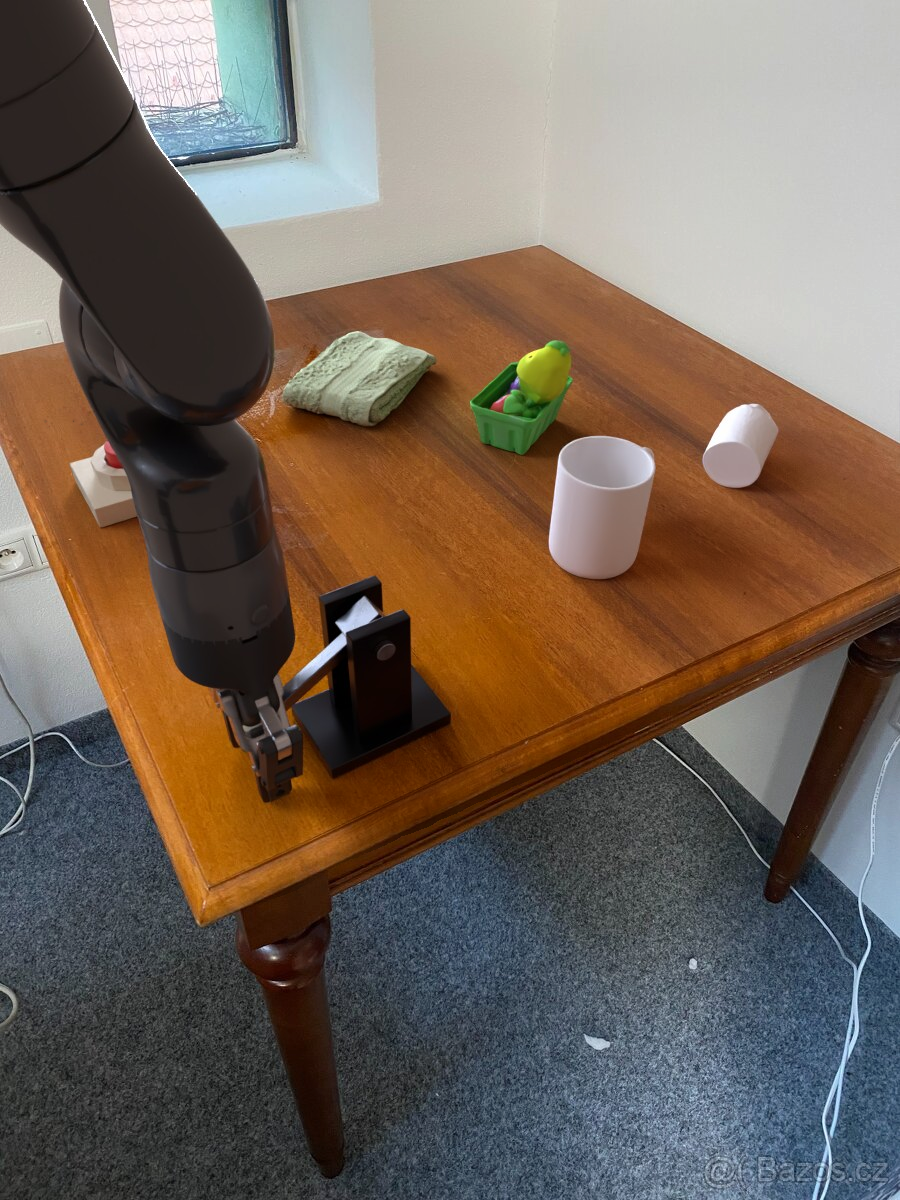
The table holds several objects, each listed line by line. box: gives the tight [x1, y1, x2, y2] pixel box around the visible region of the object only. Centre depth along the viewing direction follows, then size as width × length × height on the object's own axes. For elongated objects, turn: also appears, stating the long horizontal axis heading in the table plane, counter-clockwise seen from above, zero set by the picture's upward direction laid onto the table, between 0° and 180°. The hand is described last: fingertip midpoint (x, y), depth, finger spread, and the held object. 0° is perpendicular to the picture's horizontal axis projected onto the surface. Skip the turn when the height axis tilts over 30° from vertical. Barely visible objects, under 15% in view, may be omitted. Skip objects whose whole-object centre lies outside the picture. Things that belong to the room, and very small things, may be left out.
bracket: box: [290, 574, 452, 780], centre depth 63 cm, size 10×7×12 cm
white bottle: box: [702, 403, 779, 489], centre depth 92 cm, size 6×12×6 cm, turn 153°
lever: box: [243, 596, 386, 731], centre depth 60 cm, size 13×3×3 cm
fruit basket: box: [469, 339, 574, 456], centre depth 94 cm, size 11×9×11 cm
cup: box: [548, 435, 656, 580], centre depth 80 cm, size 8×12×10 cm
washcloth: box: [280, 330, 437, 427], centre depth 103 cm, size 13×18×3 cm
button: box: [103, 439, 123, 469], centre depth 85 cm, size 4×4×2 cm
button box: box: [69, 444, 138, 529], centre depth 87 cm, size 10×9×4 cm
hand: (260, 766), depth 63 cm, fingers open, 5 cm apart
